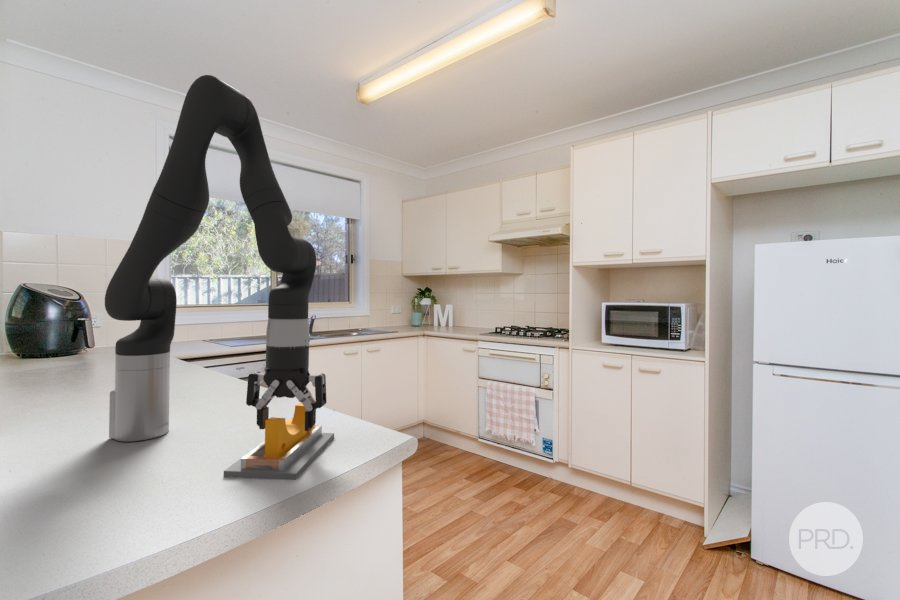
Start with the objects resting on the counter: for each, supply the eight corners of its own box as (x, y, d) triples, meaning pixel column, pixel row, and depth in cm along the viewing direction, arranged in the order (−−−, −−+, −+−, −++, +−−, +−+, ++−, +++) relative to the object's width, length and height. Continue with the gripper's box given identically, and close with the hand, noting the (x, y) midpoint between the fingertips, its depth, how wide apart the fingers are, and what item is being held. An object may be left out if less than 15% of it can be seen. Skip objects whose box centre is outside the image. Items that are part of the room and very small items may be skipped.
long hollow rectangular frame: (240, 469, 68) (240, 458, 68) (287, 432, 87) (287, 424, 87) (283, 470, 68) (283, 460, 68) (321, 433, 86) (321, 425, 86)
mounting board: (223, 477, 68) (223, 470, 68) (278, 435, 88) (278, 431, 88) (295, 479, 67) (295, 473, 67) (334, 437, 87) (334, 433, 87)
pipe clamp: (291, 434, 83) (291, 402, 83) (311, 435, 83) (312, 403, 83) (255, 456, 72) (256, 419, 72) (278, 458, 71) (279, 421, 71)
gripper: (239, 344, 74) (238, 434, 74) (318, 346, 73) (316, 437, 73) (260, 339, 81) (258, 421, 81) (332, 341, 81) (330, 424, 81)
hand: (286, 428), depth 77 cm, fingers open, 8 cm apart
